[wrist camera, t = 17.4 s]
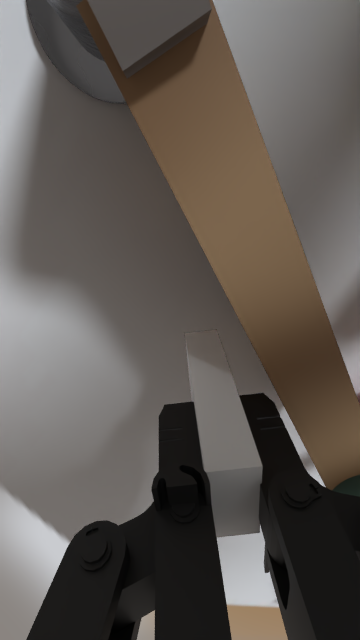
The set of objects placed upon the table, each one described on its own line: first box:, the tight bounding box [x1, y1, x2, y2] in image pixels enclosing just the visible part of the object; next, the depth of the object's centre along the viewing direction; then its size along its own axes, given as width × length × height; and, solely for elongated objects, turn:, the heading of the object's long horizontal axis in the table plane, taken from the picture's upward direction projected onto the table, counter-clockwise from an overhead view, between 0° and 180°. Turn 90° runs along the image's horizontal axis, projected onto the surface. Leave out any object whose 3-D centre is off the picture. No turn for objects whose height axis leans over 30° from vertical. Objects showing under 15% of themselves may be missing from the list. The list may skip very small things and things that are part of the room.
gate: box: [76, 0, 360, 497], centre depth 11 cm, size 18×2×10 cm, turn 29°
